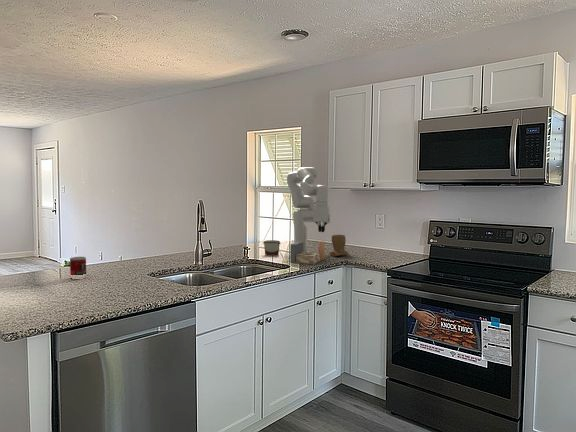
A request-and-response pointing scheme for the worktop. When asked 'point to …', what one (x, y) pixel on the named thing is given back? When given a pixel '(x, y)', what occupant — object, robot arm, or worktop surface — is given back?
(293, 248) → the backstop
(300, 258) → the beige square ring
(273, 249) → the food container
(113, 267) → the worktop surface
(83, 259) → the canned food
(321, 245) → the dowel
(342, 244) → the brown chunky piece
